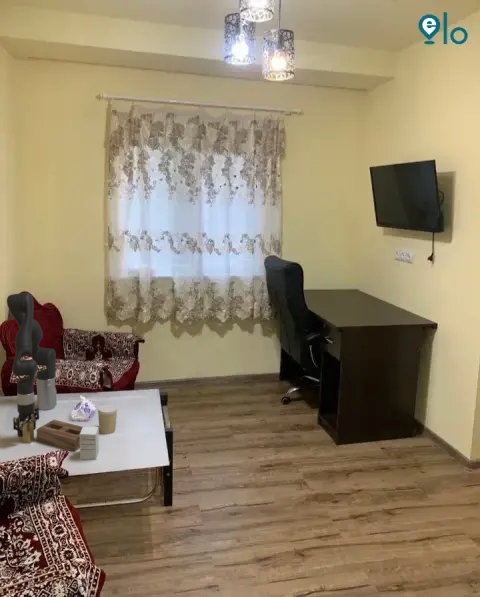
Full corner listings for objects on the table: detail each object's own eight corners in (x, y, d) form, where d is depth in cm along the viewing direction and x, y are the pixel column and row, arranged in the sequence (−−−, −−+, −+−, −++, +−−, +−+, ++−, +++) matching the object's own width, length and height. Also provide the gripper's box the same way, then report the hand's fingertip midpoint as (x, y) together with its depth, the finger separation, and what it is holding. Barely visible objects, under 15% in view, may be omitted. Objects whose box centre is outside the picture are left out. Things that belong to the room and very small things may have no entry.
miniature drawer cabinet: (82, 451, 241) (82, 426, 239) (99, 451, 242) (99, 426, 239) (79, 459, 234) (79, 433, 232) (96, 459, 235) (96, 434, 232)
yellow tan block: (24, 438, 250) (23, 419, 248) (34, 441, 248) (33, 421, 246) (20, 440, 248) (19, 421, 246) (30, 443, 246) (29, 423, 243)
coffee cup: (120, 428, 265) (120, 406, 263) (110, 436, 257) (110, 413, 254) (104, 425, 268) (104, 403, 266) (94, 432, 260) (94, 410, 257)
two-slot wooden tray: (54, 430, 259) (53, 419, 258) (91, 440, 252) (91, 429, 251) (36, 440, 248) (36, 429, 247) (75, 451, 241) (74, 439, 240)
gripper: (30, 394, 251) (31, 425, 255) (7, 405, 238) (9, 437, 242) (43, 397, 249) (43, 428, 252) (20, 408, 236) (22, 441, 239)
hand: (26, 433), depth 247 cm, fingers open, 8 cm apart
